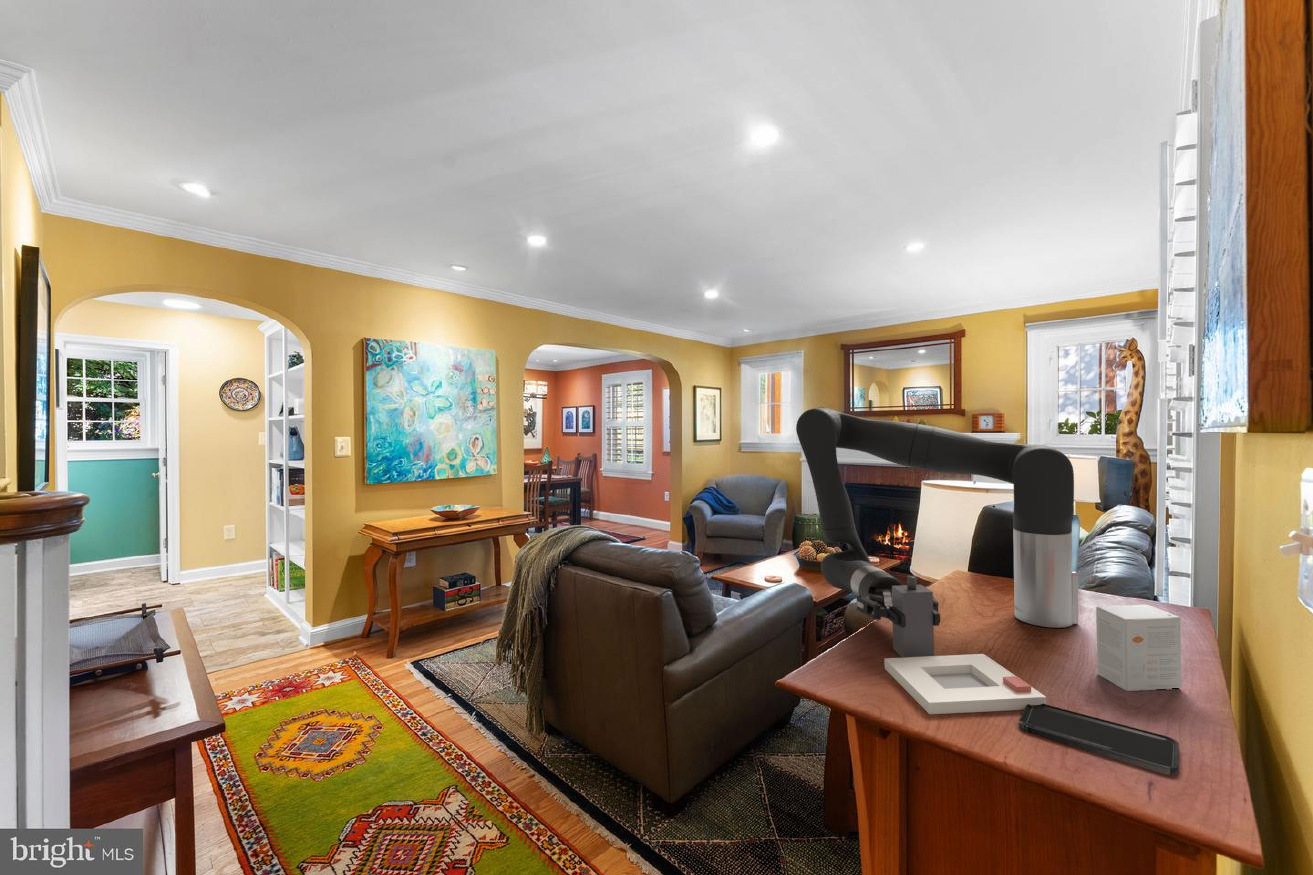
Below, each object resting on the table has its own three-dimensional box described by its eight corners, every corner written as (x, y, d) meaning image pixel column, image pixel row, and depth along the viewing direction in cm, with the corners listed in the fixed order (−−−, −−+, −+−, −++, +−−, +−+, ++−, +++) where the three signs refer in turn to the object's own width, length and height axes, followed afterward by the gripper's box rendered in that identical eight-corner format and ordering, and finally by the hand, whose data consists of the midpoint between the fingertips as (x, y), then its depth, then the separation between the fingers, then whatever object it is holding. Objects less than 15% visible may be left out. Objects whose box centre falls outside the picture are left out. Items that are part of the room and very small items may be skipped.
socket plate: (983, 663, 90) (983, 648, 90) (1046, 708, 76) (1046, 690, 76) (884, 668, 90) (884, 653, 90) (929, 714, 76) (929, 696, 76)
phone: (1029, 700, 77) (1178, 739, 67) (1029, 708, 77) (1179, 748, 67) (1016, 724, 71) (1177, 771, 61) (1017, 732, 72) (1178, 781, 61)
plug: (922, 647, 97) (920, 573, 97) (934, 657, 93) (932, 579, 93) (893, 649, 97) (891, 574, 96) (904, 659, 93) (902, 581, 92)
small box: (1148, 672, 85) (1148, 603, 85) (1182, 690, 80) (1182, 616, 79) (1095, 674, 85) (1094, 605, 85) (1125, 692, 80) (1125, 618, 80)
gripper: (839, 571, 109) (876, 599, 92) (913, 568, 109) (963, 596, 92) (840, 610, 109) (877, 645, 92) (913, 606, 109) (964, 641, 92)
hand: (920, 620), depth 92 cm, fingers closed on plug, 5 cm apart
